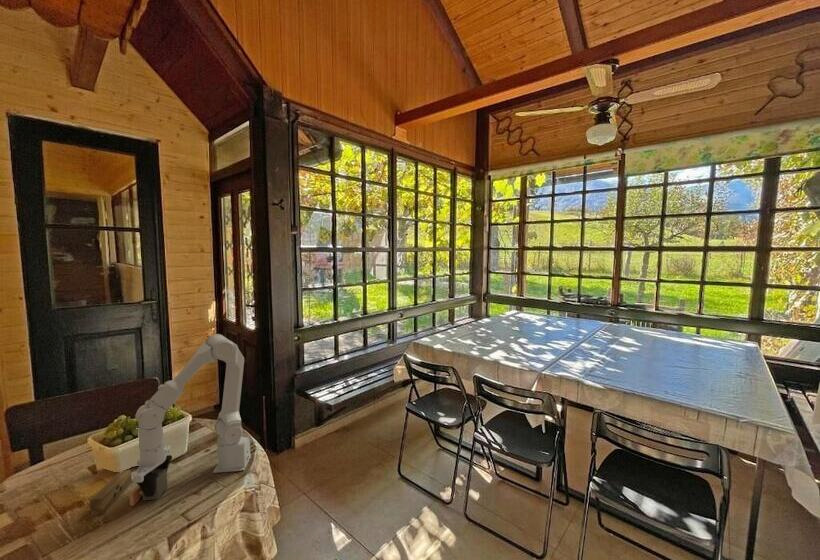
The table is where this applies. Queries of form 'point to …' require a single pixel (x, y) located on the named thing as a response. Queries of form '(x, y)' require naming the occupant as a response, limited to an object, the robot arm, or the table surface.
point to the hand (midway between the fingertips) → (155, 488)
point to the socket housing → (110, 492)
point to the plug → (158, 484)
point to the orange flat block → (135, 495)
